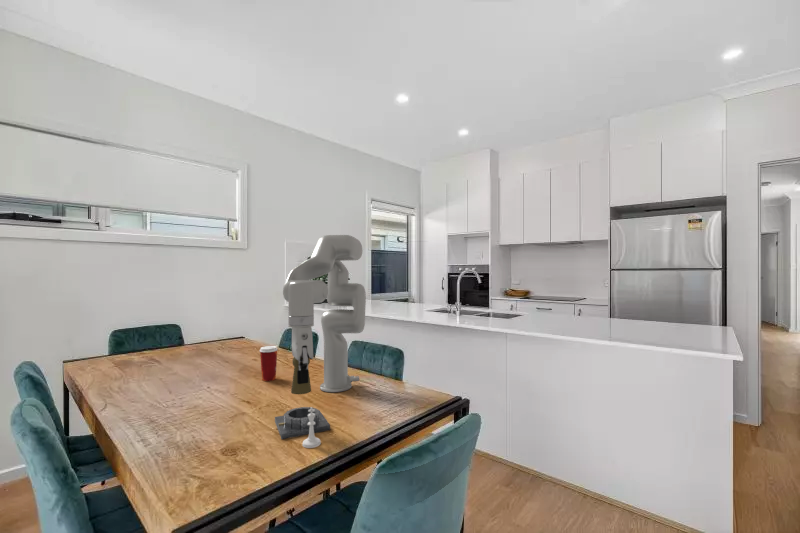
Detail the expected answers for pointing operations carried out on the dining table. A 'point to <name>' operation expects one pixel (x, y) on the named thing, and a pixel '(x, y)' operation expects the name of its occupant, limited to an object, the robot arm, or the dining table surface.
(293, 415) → the socket
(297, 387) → the olive game pawn
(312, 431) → the chess piece
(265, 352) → the paper cup
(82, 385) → the dining table surface
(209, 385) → the dining table surface
